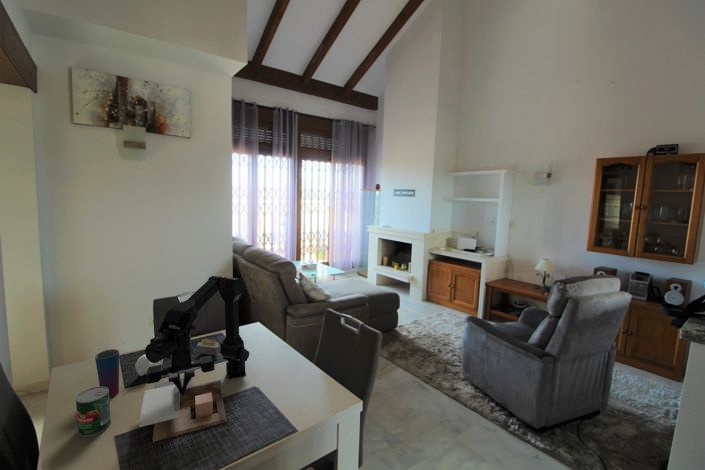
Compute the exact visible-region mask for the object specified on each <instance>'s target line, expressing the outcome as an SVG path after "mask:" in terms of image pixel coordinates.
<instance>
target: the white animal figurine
mask: <svg viewBox="0 0 705 470" xmlns="http://www.w3.org/2000/svg"><path fill="white" fill-rule="evenodd" d="M163 361H164V359H163V360H161V361H159V362H157V363H152V362H150V361H149V360H148V359H147V358H146V355H145V353H144V354H143V355H141V356H140V357H139V358H137V360H136V363H135V364H134V367H135V370H136V372H137V374H138V375H139V376H141V377H142V376H144V375H146V374H147V369H148V368H149V367H151V366H157V365H163Z"/></svg>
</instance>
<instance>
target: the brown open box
mask: <svg viewBox="0 0 705 470" xmlns="http://www.w3.org/2000/svg"><path fill="white" fill-rule="evenodd" d="M206 393H212V400H213V404H214V403H215V404H216V410H217V412H216V413H213V414H212V415H208V416H204V417H200V418H196V417H195V418H192V417H191V409H193V408H195V396H198V395H202V394H206ZM223 423H224V424H225V423H227V413H226V410H225V405H224V399H223V395H222V380H221V379H219V380H214V381H210V382H205V383H200V384H196V385H192V386H190V387H187V388H186V390H185V393H184V395H181V393H180V417H178V418H174V419H170V420H166V421H162V422H158V423H154V424H153V431H152V432H153V433H152V443H154V442H159V441H163V440H167V439H170V438H173V437H177V436H180V435H185V434H188V433H191V432H194V431H199V430H203V429H207V428H210V427H213V426H218V425H220V424H223Z"/></svg>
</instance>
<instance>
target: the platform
mask: <svg viewBox="0 0 705 470" xmlns="http://www.w3.org/2000/svg"><path fill="white" fill-rule="evenodd" d="M197 347H199V348H200V354H203V355H207V356H218V348H220V343H219V342H217V341H216V339H209V338H204V339H201V341H200V342H198V343H197Z"/></svg>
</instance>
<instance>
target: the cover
mask: <svg viewBox="0 0 705 470" xmlns="http://www.w3.org/2000/svg"><path fill="white" fill-rule="evenodd" d="M178 417H180V392H179V390H178V388H177V387H176V385H175V384H174V385H170V386H165V387H160V388H156V387H155V388H152V389H146V390H144V394H143V399H142V405H141V411H140V416H139V428H143V427H146V426H149V425H150V426H151V425H154V423H158V422H162V421H166V420H170V419H174V418H178Z"/></svg>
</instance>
